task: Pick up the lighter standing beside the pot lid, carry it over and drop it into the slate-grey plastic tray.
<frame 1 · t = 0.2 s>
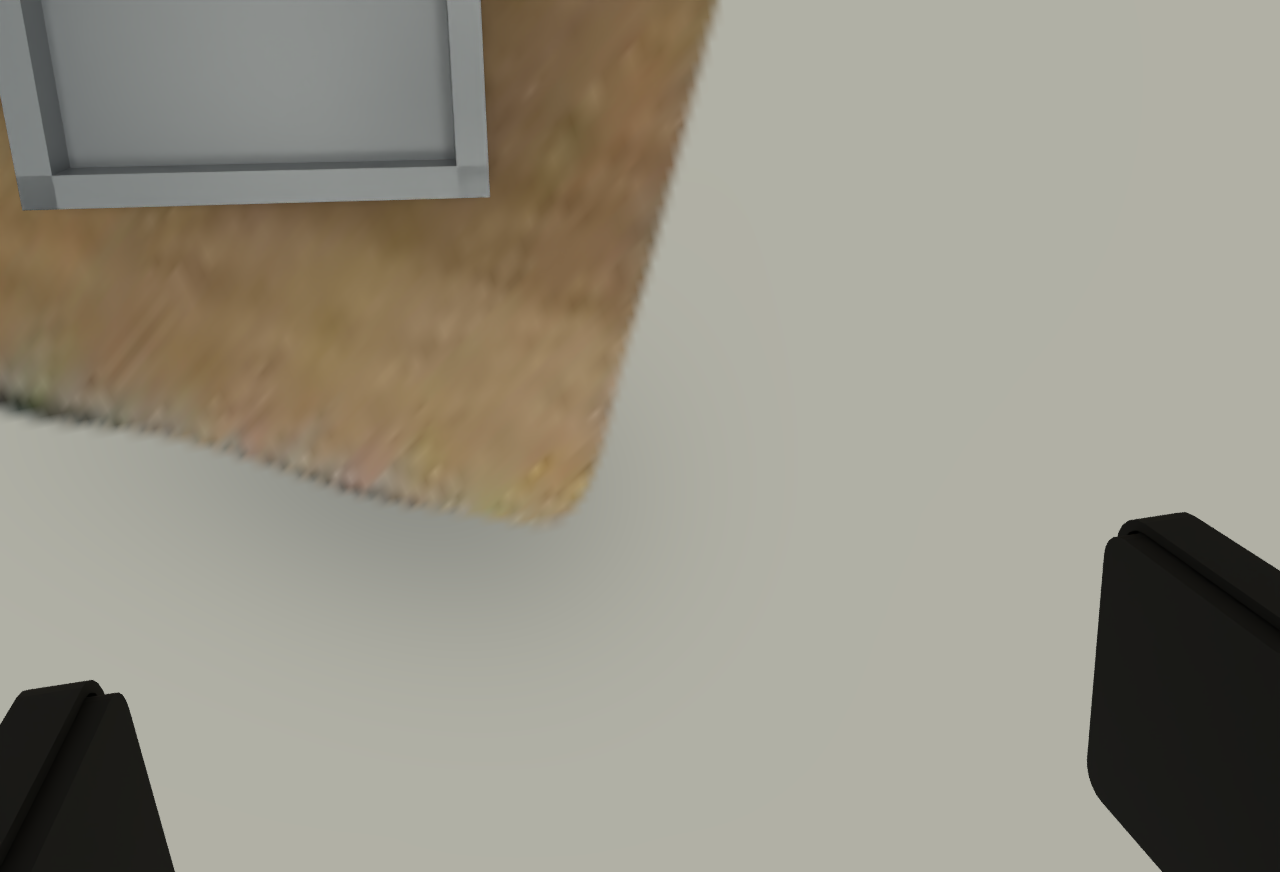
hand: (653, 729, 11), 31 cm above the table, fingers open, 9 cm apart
tray: (253, 15, 35), on the table
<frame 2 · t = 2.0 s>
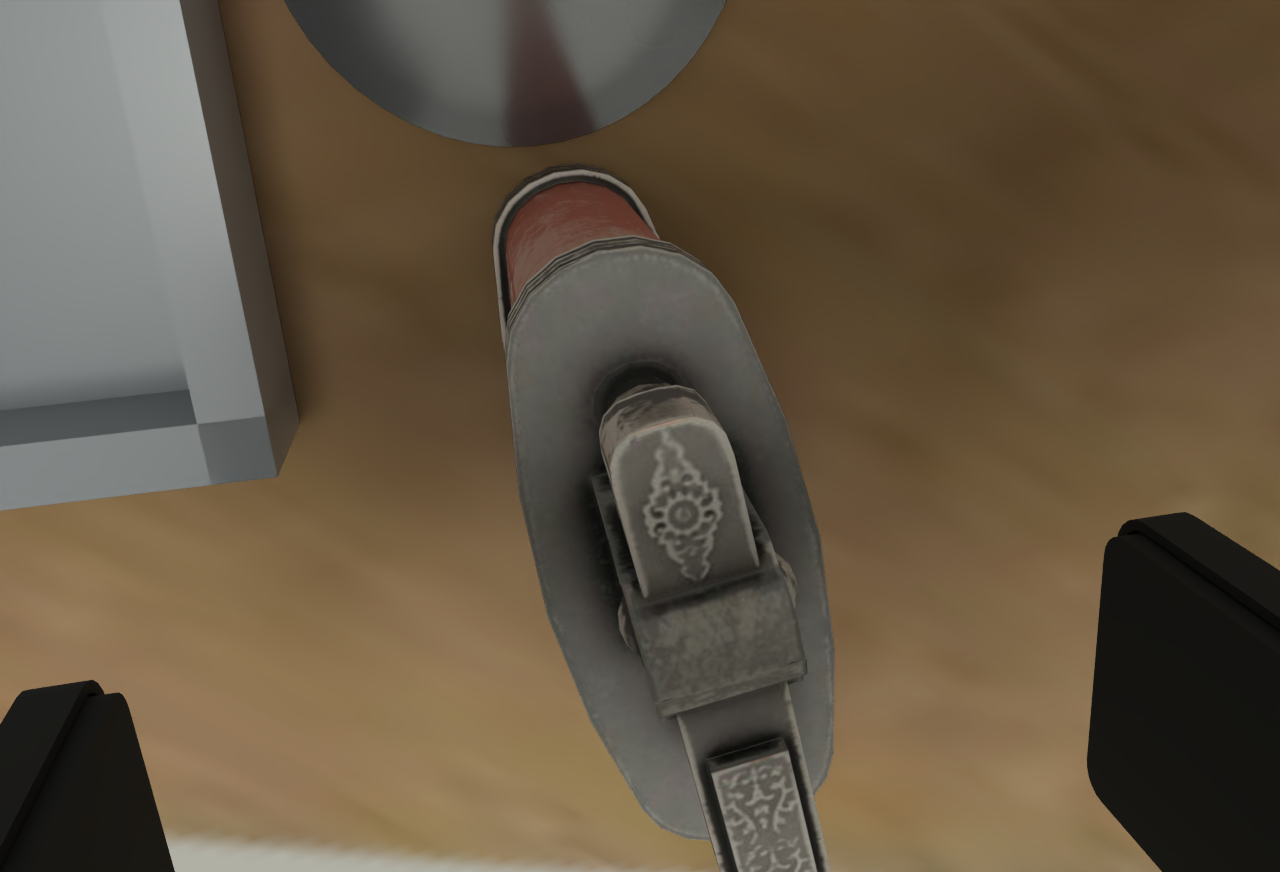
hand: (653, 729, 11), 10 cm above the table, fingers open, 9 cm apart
lighter: (609, 382, 20), on the table
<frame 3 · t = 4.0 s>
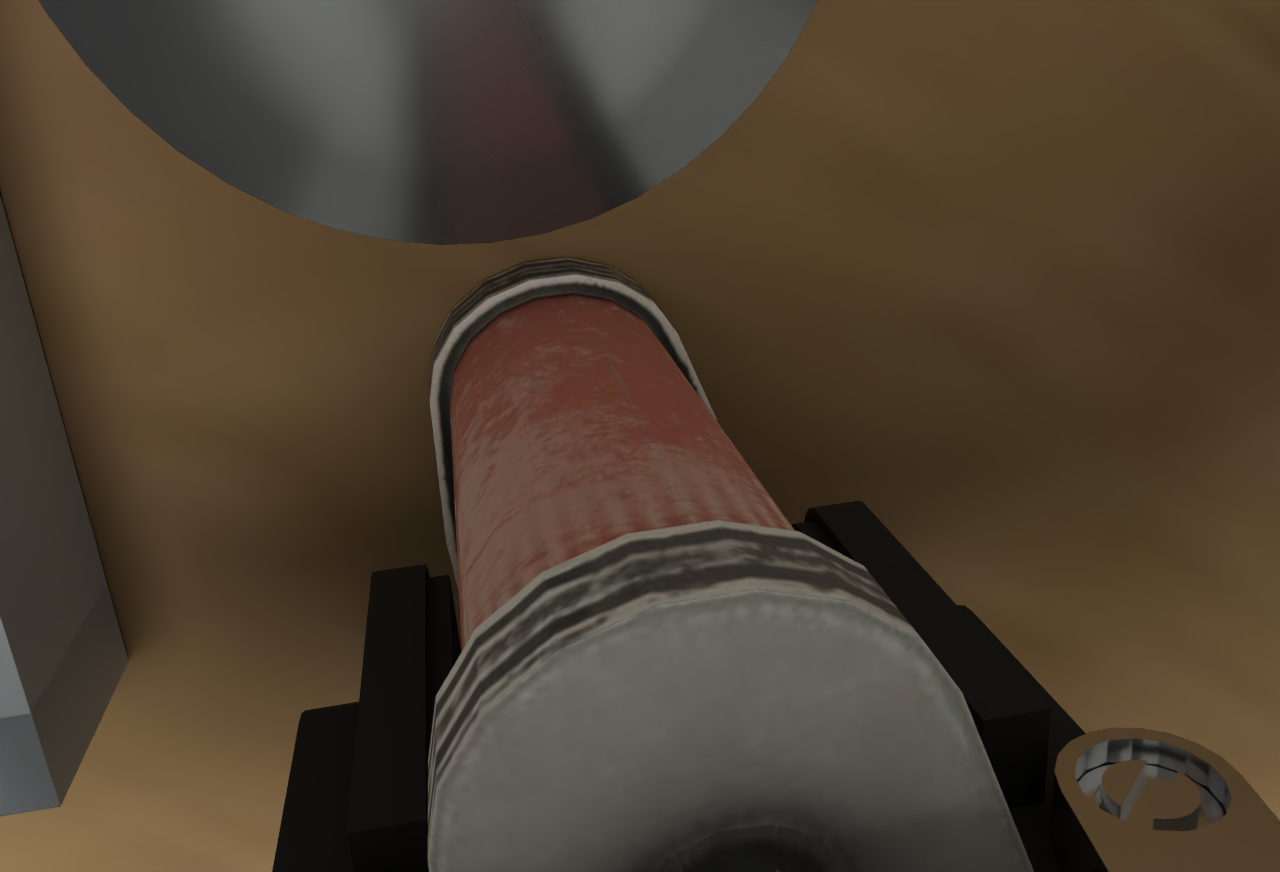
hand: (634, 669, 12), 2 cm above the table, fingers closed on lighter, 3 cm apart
lighter: (612, 581, 13), on the table, touching gripper
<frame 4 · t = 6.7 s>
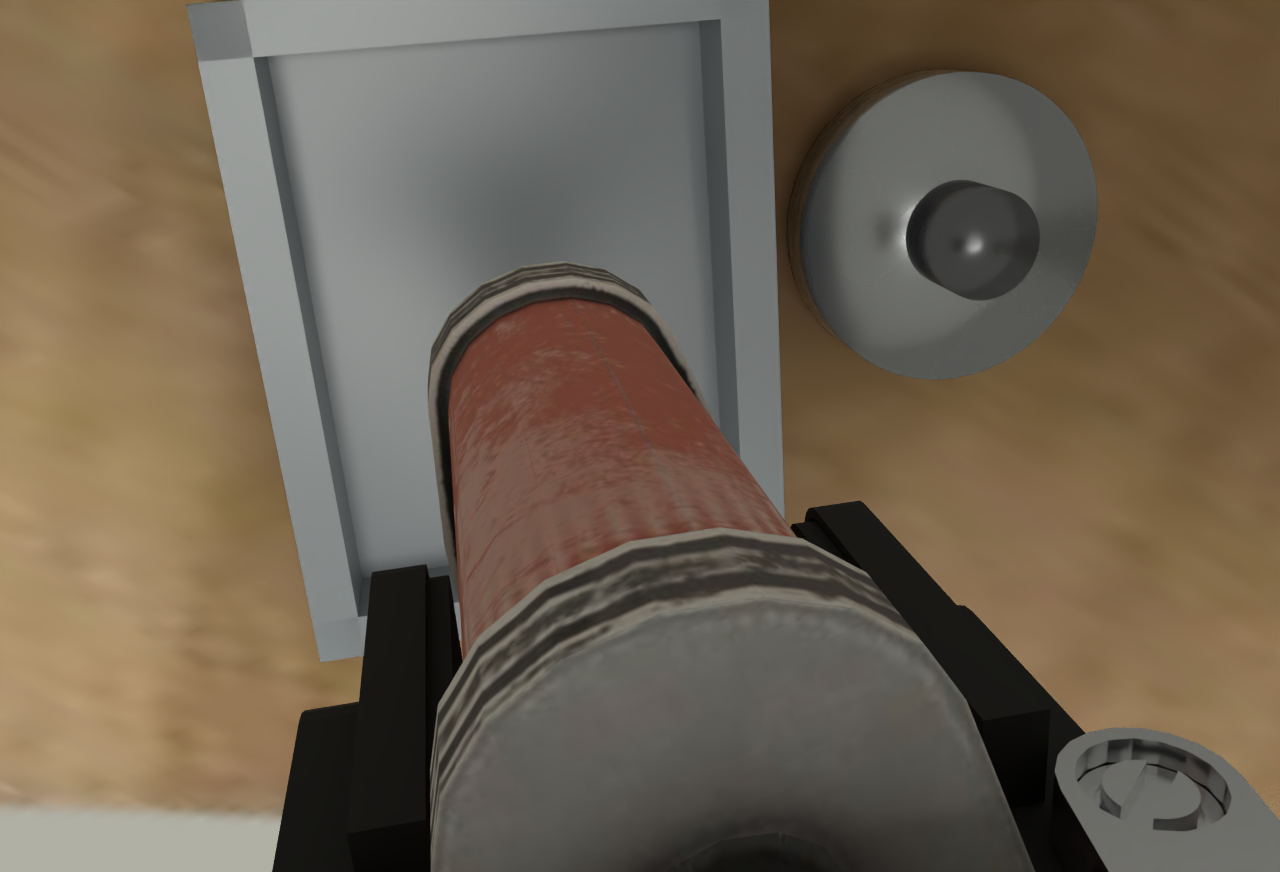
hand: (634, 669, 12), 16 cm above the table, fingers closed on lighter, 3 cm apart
pot lid: (926, 221, 27), on the table
lighter: (611, 585, 13), point 14 cm above the table, touching gripper
tray: (518, 309, 26), on the table
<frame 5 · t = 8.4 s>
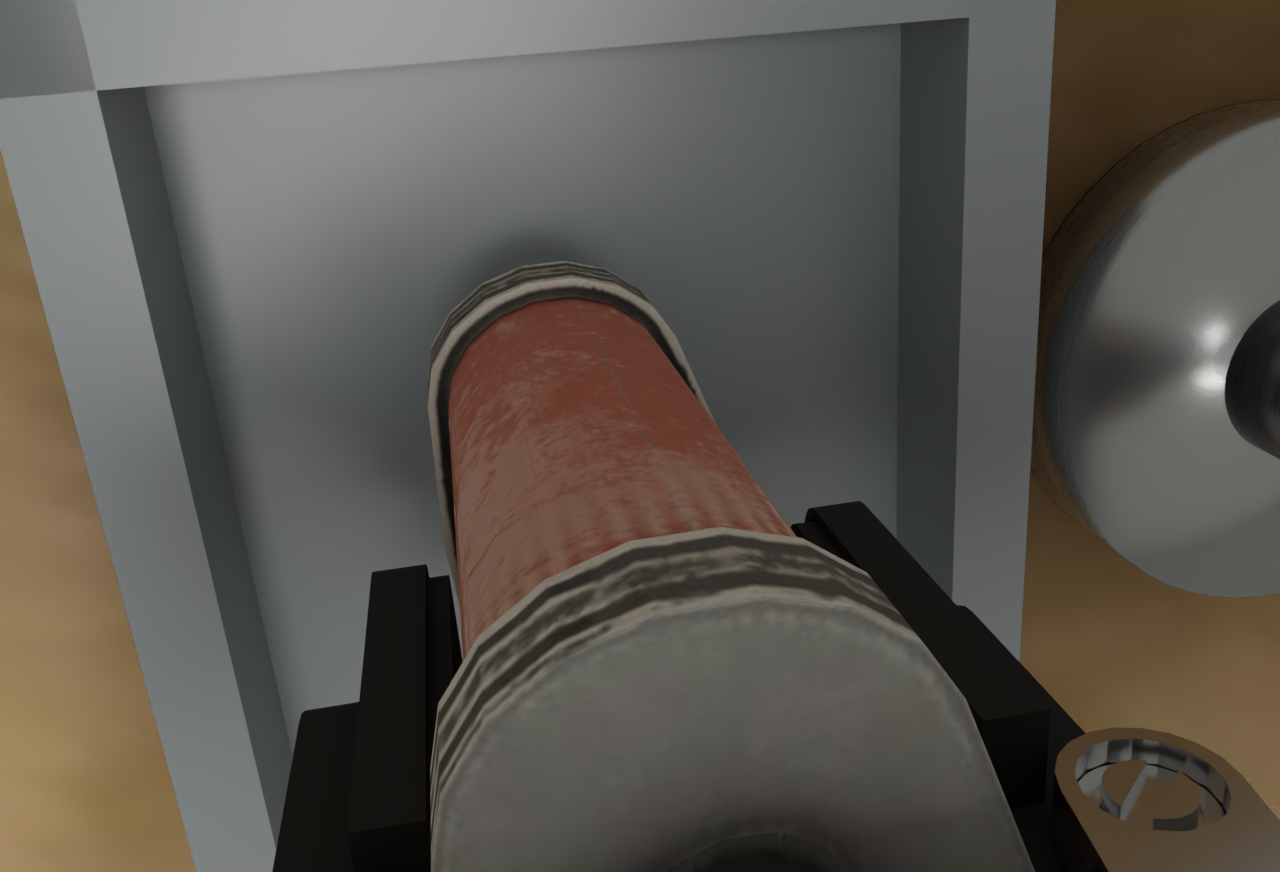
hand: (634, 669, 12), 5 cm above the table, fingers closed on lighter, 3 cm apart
pot lid: (1228, 341, 17), on the table
lighter: (611, 584, 13), point 3 cm above the table, touching gripper
tray: (580, 491, 16), on the table
when the fingers open (3 cm above the table, at t = 9.4 s): lighter moves 1 cm, resting on tray.
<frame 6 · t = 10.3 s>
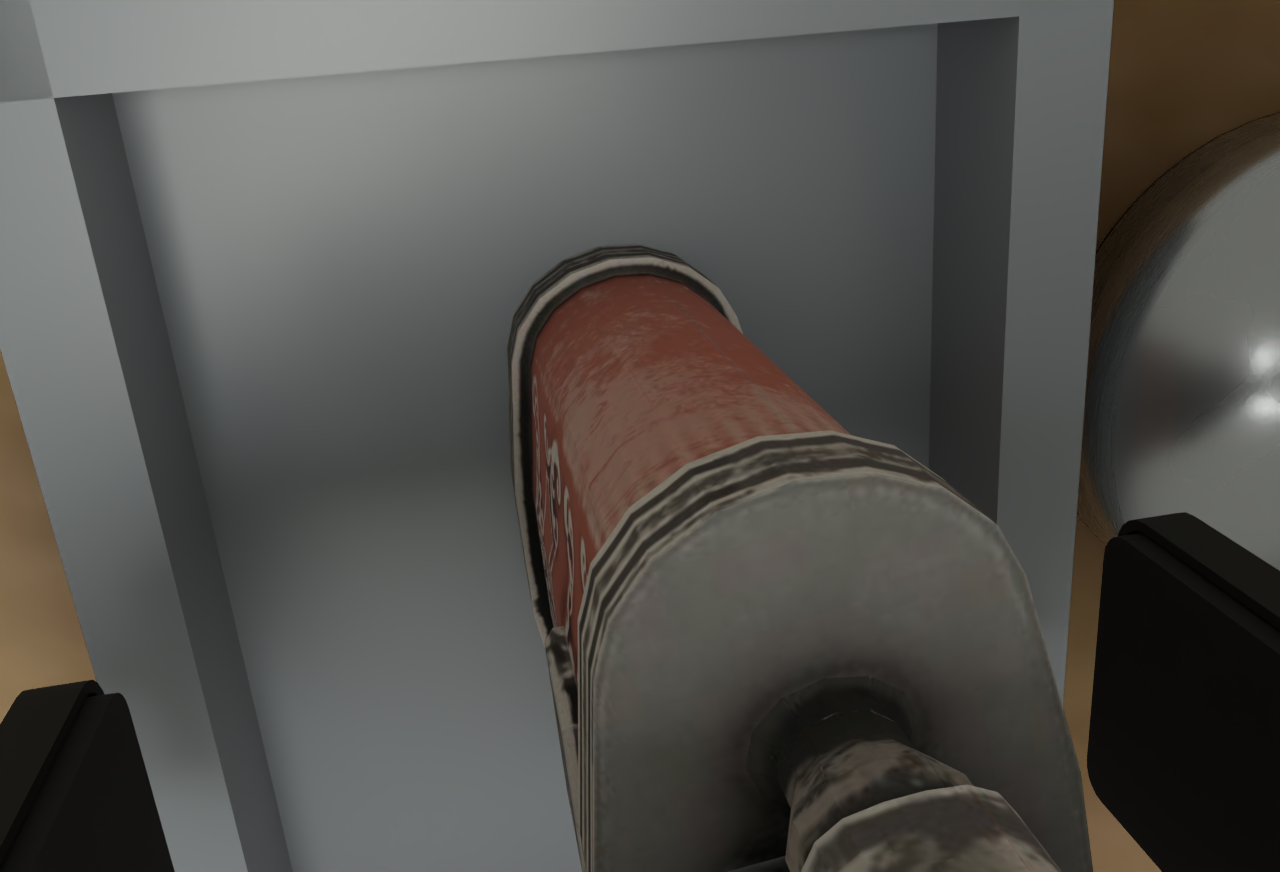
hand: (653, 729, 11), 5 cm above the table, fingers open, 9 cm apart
pot lid: (1279, 362, 16), on the table
lighter: (654, 546, 15), resting on tray
tray: (587, 526, 15), on the table
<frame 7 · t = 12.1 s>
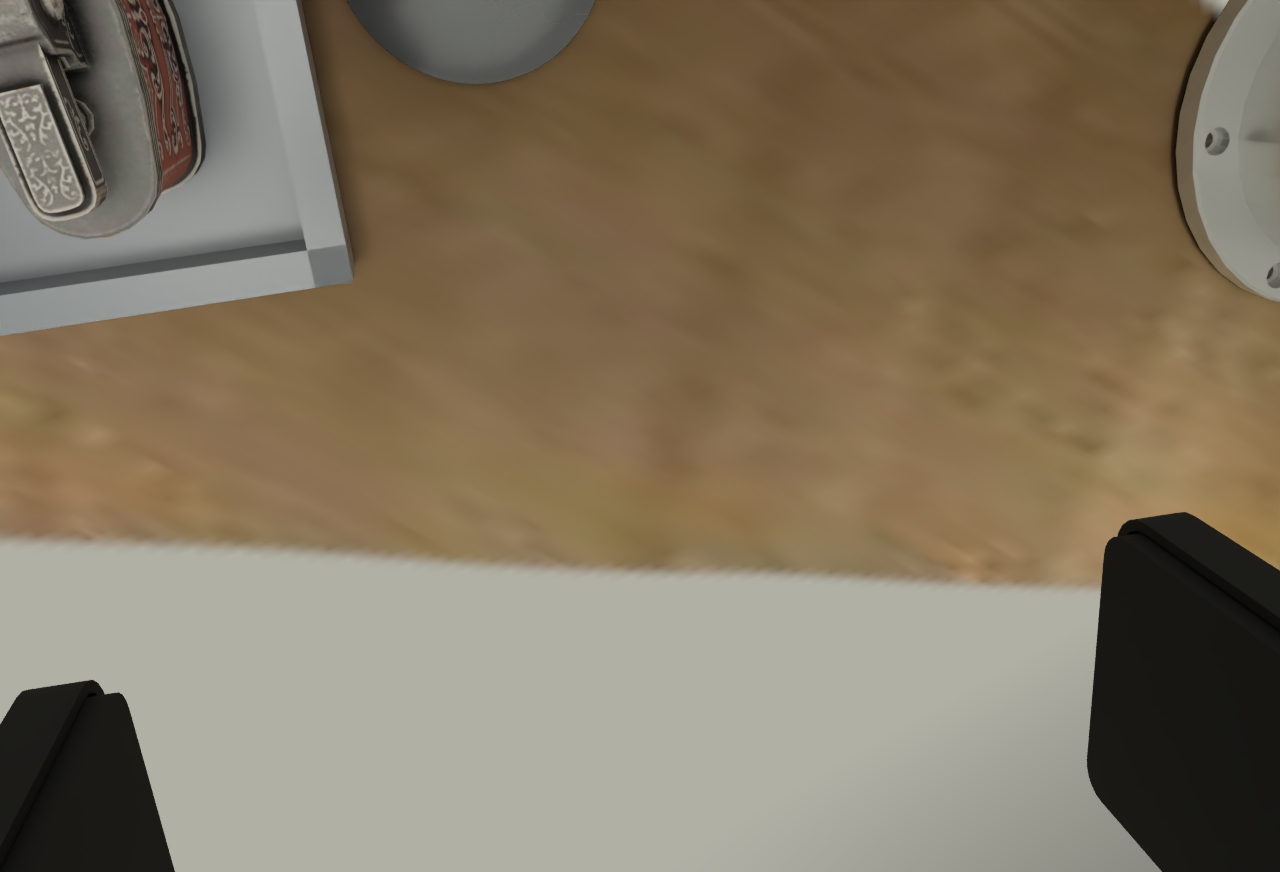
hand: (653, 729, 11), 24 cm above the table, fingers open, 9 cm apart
lighter: (113, 31, 28), resting on tray
tray: (81, 27, 29), on the table
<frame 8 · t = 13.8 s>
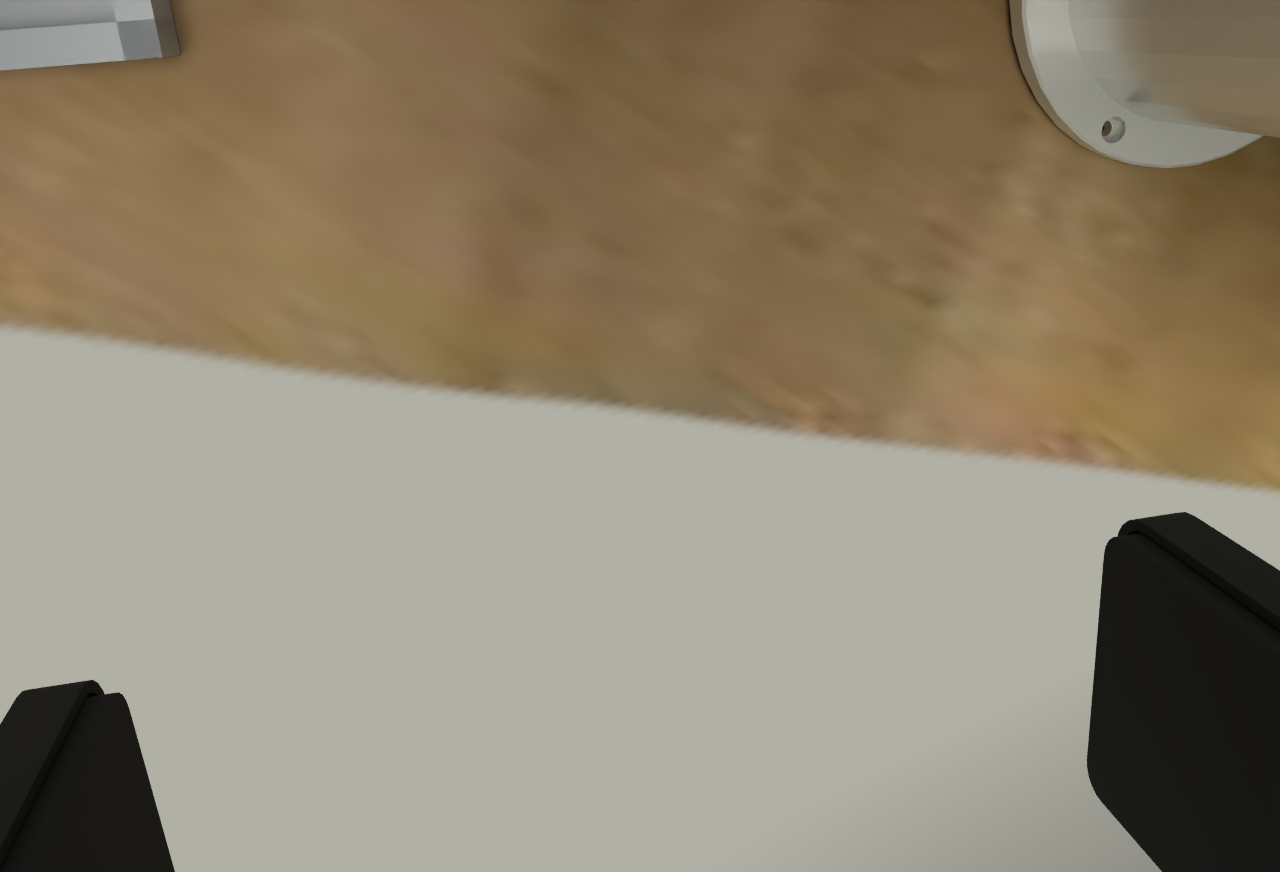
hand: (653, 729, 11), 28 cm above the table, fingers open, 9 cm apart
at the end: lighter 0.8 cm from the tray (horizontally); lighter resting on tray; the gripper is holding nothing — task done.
